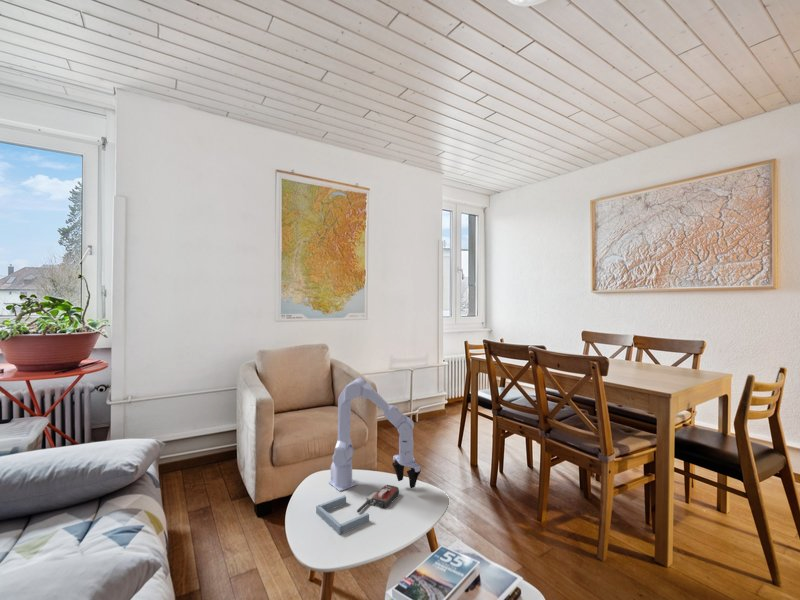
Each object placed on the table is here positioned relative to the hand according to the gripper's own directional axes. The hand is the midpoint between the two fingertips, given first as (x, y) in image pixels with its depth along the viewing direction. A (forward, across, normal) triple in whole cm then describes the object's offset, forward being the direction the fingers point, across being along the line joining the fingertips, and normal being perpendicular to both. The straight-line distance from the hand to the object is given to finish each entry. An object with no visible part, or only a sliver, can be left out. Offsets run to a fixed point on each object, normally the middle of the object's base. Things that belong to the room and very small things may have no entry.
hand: (406, 483), depth 151 cm
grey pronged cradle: (+3, 0, +29) cm, 29 cm away
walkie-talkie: (+3, 0, +14) cm, 14 cm away
